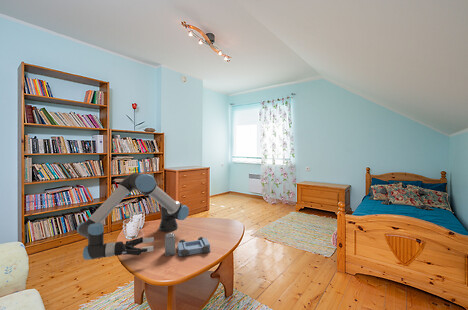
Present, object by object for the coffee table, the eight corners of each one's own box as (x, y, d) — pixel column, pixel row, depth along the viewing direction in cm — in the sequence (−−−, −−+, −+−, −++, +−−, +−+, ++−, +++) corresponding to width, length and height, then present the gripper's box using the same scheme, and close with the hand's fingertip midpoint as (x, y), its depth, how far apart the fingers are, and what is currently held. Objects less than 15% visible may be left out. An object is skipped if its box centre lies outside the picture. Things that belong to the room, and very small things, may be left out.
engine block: (165, 251, 137) (164, 233, 137) (174, 250, 139) (174, 232, 139) (165, 256, 132) (165, 236, 131) (175, 254, 134) (175, 235, 133)
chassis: (177, 246, 145) (177, 240, 145) (205, 242, 152) (205, 236, 151) (179, 257, 130) (179, 250, 129) (211, 252, 136) (211, 245, 136)
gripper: (118, 246, 136) (153, 241, 144) (110, 266, 113) (153, 259, 120) (118, 234, 136) (153, 230, 144) (110, 252, 113) (152, 246, 120)
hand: (153, 243), depth 132 cm, fingers open, 13 cm apart
